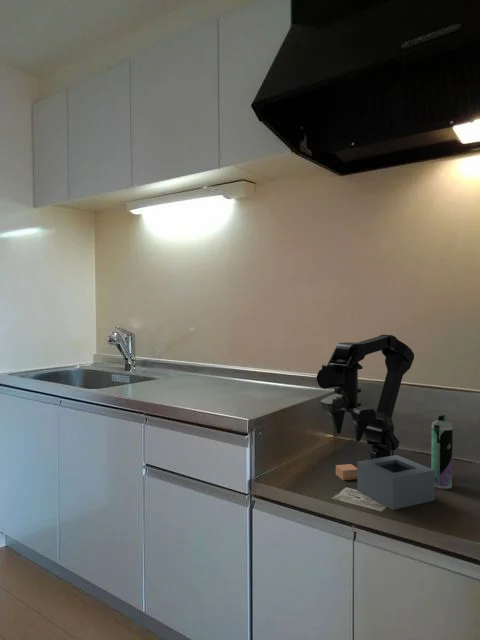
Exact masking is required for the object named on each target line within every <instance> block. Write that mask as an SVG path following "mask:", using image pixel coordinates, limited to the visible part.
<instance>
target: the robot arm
mask: <svg viewBox="0 0 480 640" xmlns="http://www.w3.org/2000/svg"><path fill="white" fill-rule="evenodd" d="M335 346H336V347H335V349H334V350H333V352H332V354H331V357H330V358H329V360H328V362H327V364H322V365H321V369H320V370H319V371H318V372H317V375H316V382H317V384H318V386H319V387H320V388H321V389H323V390H326V389H333V388H334V392H333V394H330V395H328V396H327V397H324V398H323V399H321V400H320V404H321V409H323V412H326V413H327V414H328V415H329V416H330V417H331V419H332V422H333V427H334V429H335V432H336V434H341V432H342V428H343V423H344V418H345V414H346V412H347V413H350V415H351V417H352V418H350V421H352V422H353V424H354V435H355V442H360V441H361V439H362V437H363V436H365V437H364V438H365V440H366V444H367V445H370V446H371V451H370V459H376V458H382V457H388V456H394V455H395V454H394V451H396V450H398V448H399V445H400V440H399V439H398V437H396V435H395V434H394V431H395V426H394V422H393V414H394V411H395V407H396V402H397V399H398V394H399V391H400V387H401V385H402V380H403V376H404V375H405V374H406V373H407V372H408V371H409V370H410V369H411V367H412V365H413V362H414V360H415V353H414V352H413V350H412V348H411V347H409V345H407V344H406V343H404V342H403V341H401V340H399V339H398V338H397V337H396V336H395V335H393V334H381V335H380V334H379V336H374V337H371V338H368V339H364V340H361V341H358V342H348V341H347V342H339V343H337V344H336V345H335ZM377 352H381V354H382V355H383V356H384V357H385V358H384V364H385V367H386V369H387V371H386V375H385V377H384V378H385V379H384V382H383V385H382V390H381V393H380V396H379V400H378V403H377V404H378V405H377V408H376V410H375V409H374V408H373V407H369V406H362V403H361V402H360V401H359V393H362V389H361V388H358V387H359V383H358V382H359V370H363V366H362V365H361V364H360V362H361V361H363V360H364V359H365V357H366V356H368V355H370V354H374V353H377Z"/></svg>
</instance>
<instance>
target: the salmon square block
mask: <svg viewBox="0 0 480 640" xmlns="http://www.w3.org/2000/svg"><path fill="white" fill-rule="evenodd" d="M335 475H336V476H337V477H338V478H339V479H341V480H342V481H346V480H347V481H349V480H350V481H351V480H357V467H356V466H355V465H353V464H351V463H348V464H335Z"/></svg>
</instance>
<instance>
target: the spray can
mask: <svg viewBox="0 0 480 640" xmlns="http://www.w3.org/2000/svg"><path fill="white" fill-rule="evenodd" d="M453 431H454V430H453V424H452V423H451V422H449V421H448V419H446V414H445V415H444V414H442V415H438V418H436V420H435V421H432V423H431V450H430V451H431V455H430V456H431V461H430V462H431V468H430V469H433V470H435V488H438V489H442V490H448V489H452V488H453V437H454V436H453V435H454V434H453Z"/></svg>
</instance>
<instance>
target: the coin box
mask: <svg viewBox="0 0 480 640" xmlns="http://www.w3.org/2000/svg"><path fill="white" fill-rule="evenodd" d="M356 463H357V464H356V466H357V467H356V468H357V479H356V481H357V484H356V490H357V491H358V492H359V493H362V494H364V495H365V496H367V497H369V498H370V499H372V500H373V501H376V502H377V503H379V504H381V505H383V506H385V507H386V508H388V509H390V510H391V511H395V510H398V509H403V508H408V507H412V506H416V505H420V504H426V503H429V502H430V503H431V502H434V501H435V498H436V497H435V489H436V487H435V470H433V469H431V468H430V467H428V466H426V465H424V464H423V465H422V464H420V463H418V462H415V461H413V460H410V459H407V458H405V457H403V456H400V455H398V454H394V456H388V457H382V458H376V459H371V458H370V459H365V460H364V459H363V460H360V461H357V462H356Z"/></svg>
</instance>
